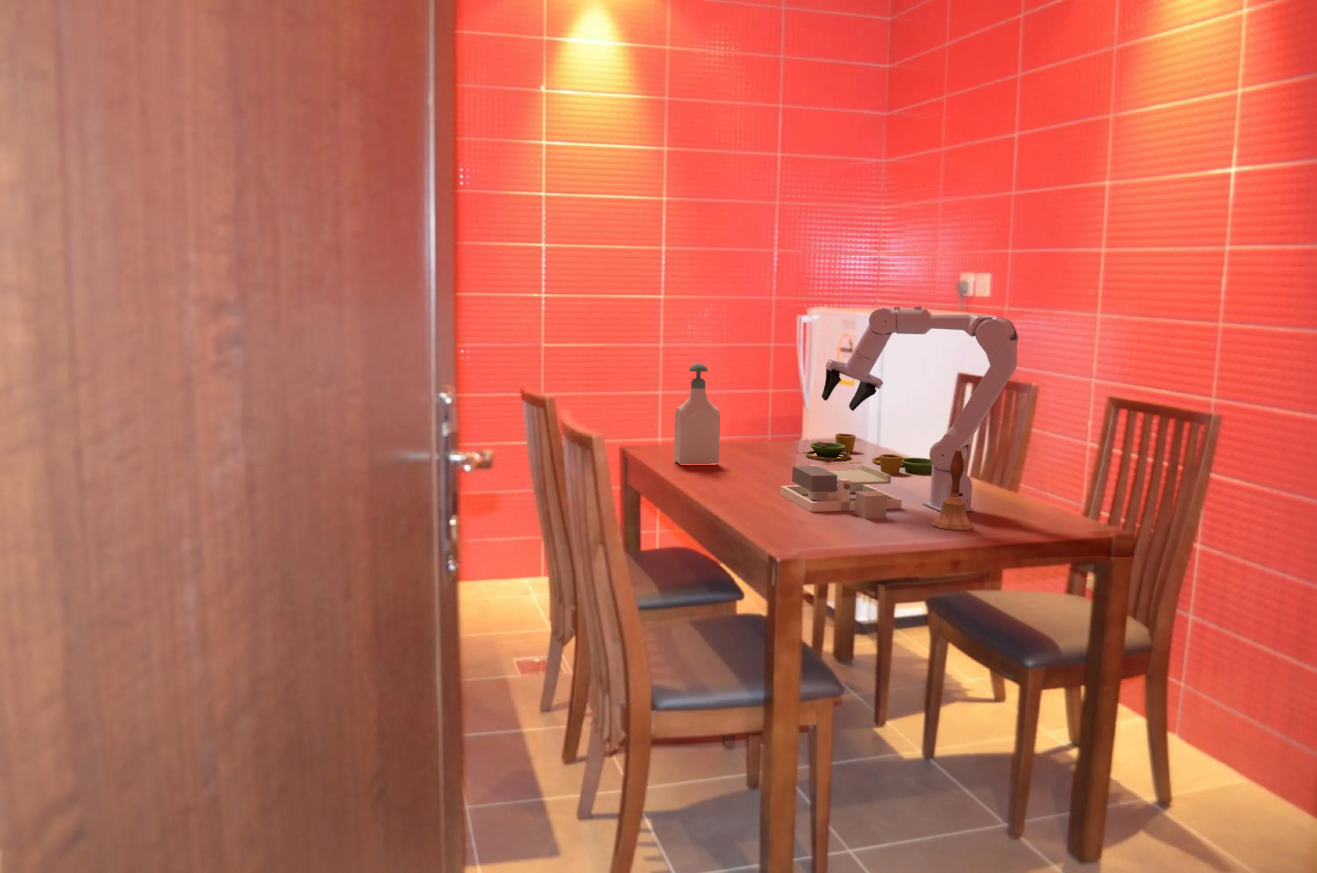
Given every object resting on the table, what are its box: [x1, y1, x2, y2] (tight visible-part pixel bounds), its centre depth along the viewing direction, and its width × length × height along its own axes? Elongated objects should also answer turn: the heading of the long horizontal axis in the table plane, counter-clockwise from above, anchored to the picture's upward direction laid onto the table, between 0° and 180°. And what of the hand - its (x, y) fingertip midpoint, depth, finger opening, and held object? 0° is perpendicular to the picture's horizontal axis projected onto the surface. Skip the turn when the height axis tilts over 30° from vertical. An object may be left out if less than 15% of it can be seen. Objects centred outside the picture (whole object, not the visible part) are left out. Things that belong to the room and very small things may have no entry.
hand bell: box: [931, 451, 974, 531], centre depth 219 cm, size 8×8×16 cm
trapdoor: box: [791, 464, 892, 492], centre depth 242 cm, size 14×19×4 cm
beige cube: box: [854, 491, 887, 520], centre depth 229 cm, size 5×5×5 cm
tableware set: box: [805, 433, 933, 476], centre depth 296 cm, size 41×28×6 cm
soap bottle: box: [673, 363, 721, 465], centre depth 287 cm, size 11×8×27 cm
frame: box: [779, 464, 902, 513], centre depth 243 cm, size 21×22×7 cm
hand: (837, 403), depth 250 cm, fingers open, 7 cm apart
